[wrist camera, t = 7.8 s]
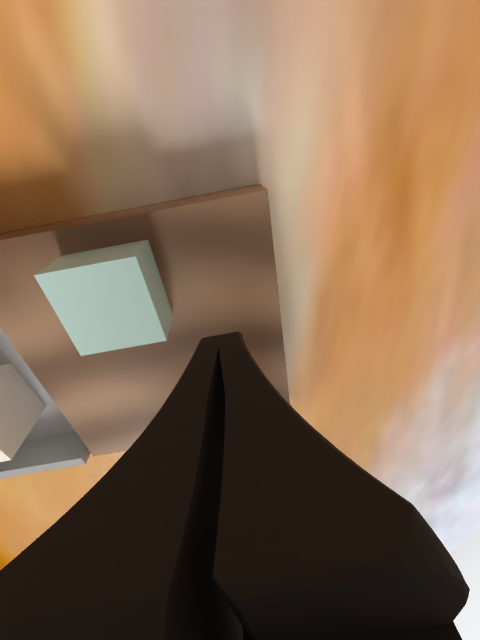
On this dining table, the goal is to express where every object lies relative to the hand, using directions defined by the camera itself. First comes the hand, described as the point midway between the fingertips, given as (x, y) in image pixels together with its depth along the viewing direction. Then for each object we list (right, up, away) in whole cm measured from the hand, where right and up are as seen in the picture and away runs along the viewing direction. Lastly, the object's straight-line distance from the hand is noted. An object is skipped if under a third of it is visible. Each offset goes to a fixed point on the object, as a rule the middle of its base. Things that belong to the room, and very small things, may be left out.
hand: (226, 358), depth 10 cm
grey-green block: (-6, +3, +6) cm, 9 cm away
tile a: (-15, -5, +10) cm, 18 cm away
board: (-5, 0, +11) cm, 12 cm away
